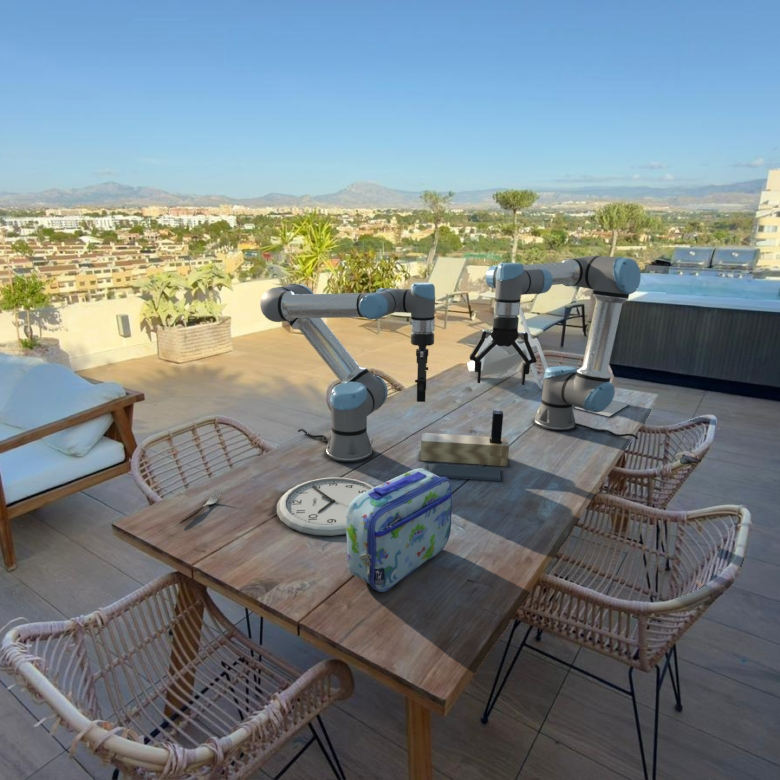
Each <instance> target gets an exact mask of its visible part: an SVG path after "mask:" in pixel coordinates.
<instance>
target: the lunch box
mask: <svg viewBox="0 0 780 780" xmlns="http://www.w3.org/2000/svg"><path fill="white" fill-rule="evenodd" d="M374 487H375V488H373V489H370V490H368V491H366V492H364V493H362V494H360V495H358V496H357V497H356V498H354V500H353V501H352V502H351V504H350V505H349V507H348V510H347V515H346V534H345V535H346V559H347V561H346V562H347V567H348V571H349V573H350V574H351V575H353V576H354V577H357V578H358V579H361V580H362V581H364V582H365V583H366V584H368V585H370V587H371V588H372V589H373V590H375V591H377V592H379V593H385V592H387V591H389V590H390V589H392V588H393V587H394V586H395V585H396V584H397V583H399V582H401V581H402V580H403V579H404V578H406V577H408V576H409V575H411V573H413V572H414V571H415V570H417V569H418V568H419V567H420V566H422V564H424V563H426V562H428V560H431V559H433V558H435V557H436V556H437V555H438V554H440V553H441V552H442V551H443V550H444V549H445V547H446V546H447V543H448V541H449V539H450V536H451V531H452V511H453V510H452V509H453V508H452V507H453V504H452V503H453V501H452V500H453V499H452V483H451V480H450V479H449V478H448V477H439V476H437V475H435V474H433V473H431V472H429V470H428V469H426V468H423V467H421V468H419V467H418V468H414V469H412V470H409V471H406V472H405V473H403V474H400V475H398V476H396V477H394V478H391V479H390V480H387V481H385V482H383V483H381V484H378V485H376V486H374Z"/></svg>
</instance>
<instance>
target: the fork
mask: <svg viewBox="0 0 780 780" xmlns="http://www.w3.org/2000/svg"><path fill="white" fill-rule="evenodd" d="M222 493H223V491H221V490H219V489H217V490H216V489H215V490H214V492H213V493H212V495H211V496H210V498H209V499H208V500H207V501H206V502H205V504H203V505H202V506H200V507H198V508H196V509H194V510H192V512H191V513H189V514H188V515H187V516H186V517H185V518H183V519H182V520H181V521H180V522H179V523H178V525H180V524H182V523H184V522H186V521H187V520H189V519H191V518H192V517H194V516H195V515H197V514H198V513H199V512H201V511H202V510H203V509H204V508H205V507H206V506H210V505H215V504H216V503H217V502H218V500H219V498H220V497H221V495H222Z"/></svg>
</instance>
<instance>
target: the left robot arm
mask: <svg viewBox="0 0 780 780" xmlns="http://www.w3.org/2000/svg"><path fill="white" fill-rule="evenodd" d="M435 288H436V287H435V284H433V283H431V282H414V283H412V284H411V287H410V288H392V287H383V288H382V287H380V288H378V289H377V290H376V291H375V292H357V293H356V292H355V293H354V292H348V293H347V292H346V293H343V292H342V293H341V292H340V293H314V292H313V290H311V288H309V287H308V286H306V285H304V284H299V283H298V284H297V283H291V284H287V285H283V286H275V287H271V288H270V289H268V290H266V291H265V292H264V293H263V295H262V296H261V298H260V302H259V303H260V305H259V306H260V310H261V313H262V314H263V316H264V317H265V318H266V319H267V320H269V321H271V322H272V323H273V322H274V323H283V322H287V323H288V325H289V326H290V327H291V328H292V330H298V331H299V332H301V334H302V335H303V336H304V338H305V339H306V340H307V342H308V343H309V344H310V345H311V347H312V348H313V349H314V350H315V352H316V353H317V354H318V355H319V357H320V359H322V360H323V362H324V363H325V364H326V366H328V368H329V369H330V371H332V372H333V374H334V376H335V377H336V378H337V379H338V380H339V382H340V383H339V384H337V385H335V386H334V387H333V388H332V390H331V394H330V418H331V419H330V420H331V432H330V436H329V438H328V439H326V438H327V437H326V436H325V435H324V434H316V435H313V434H311V433H309V432H308V431H307V430H305V429H304V428H299V429H298V430H297V432H298V433H300V432H303V433H304V434H305V435H306V436H308V437H309V438H313V439H315V438H322V439H321V441H322V442H323V443H327V445H326V451H325V452H326V456H327V458H329V459H330V460H332V461H335V462H339V463H348V464H349V463H358V462H362V461H365V460H367V459H369V458H370V457H372V454H373V447H372V445H373V442H374V439H373V438H371V441H370V437H369V435H368V429H367V427H368V416H369V415H371V414H372V413H374V412H376V411H377V410H379V409H380V408H381V407H382V406H383V405H384V404H385V402H386V401H387V399H388V393H389V390H388V386H387V383H386V382H385V380H384V379H383V378H382V377H380V376H378V375H375V374H373V373H371V371H369V369H368V368H367V367H362V366H360V365H359V364H358V362H357V361H356V360H355V358H354V357H353V356H352V355H351V354H350V352H349V351H348V350H347V348H345V346H344V345H343V343H342V342H340V340H339V338H338V337H337V336H336V335H335V334H334V332H333V331H332V330H331V329H330V328H329V326H328V325H327V323H326V322H325V321H324V320H323V319H328V318H330V319H331V318H332V319H338V318H339V319H340V318H341V319H346V318H347V319H348V318H351V319H352V318H353V319H355V318H358V319H359V318H362V319H367V320H370V321H371V320H379V319H381V318H384V317H386V316H389V315H392V314H394V313H405V314H410V320H411V321H409V325H411V326H410V331H411V333H410V344H411V345H412V346H418V348H416V349H415V356H416V365H417V374H416V375H417V378H416V379H415V380H414V383H416V403H417V402H418V403H426V391H427V371H429V367H428V365H427V364H428V357H429V348H427V347H430V346H433V345H434V344H435V333H434V332H435V329H436V327H435V326H436V323H435V322H436V319H435V314H436V313H435V312H436V289H435ZM307 433H308V434H307Z"/></svg>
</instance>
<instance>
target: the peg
mask: <svg viewBox="0 0 780 780" xmlns="http://www.w3.org/2000/svg"><path fill="white" fill-rule="evenodd" d="M503 420H504V411H503V410H492V419H491V430H490V431H491V432H490V437H491V442H490V443H496V444H501V438H502V435H503V423H504V421H503Z"/></svg>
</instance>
